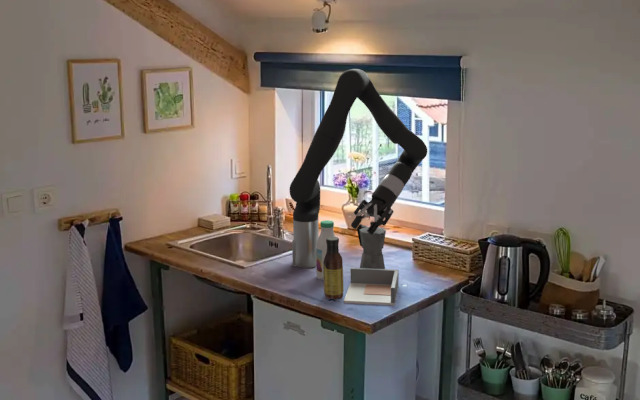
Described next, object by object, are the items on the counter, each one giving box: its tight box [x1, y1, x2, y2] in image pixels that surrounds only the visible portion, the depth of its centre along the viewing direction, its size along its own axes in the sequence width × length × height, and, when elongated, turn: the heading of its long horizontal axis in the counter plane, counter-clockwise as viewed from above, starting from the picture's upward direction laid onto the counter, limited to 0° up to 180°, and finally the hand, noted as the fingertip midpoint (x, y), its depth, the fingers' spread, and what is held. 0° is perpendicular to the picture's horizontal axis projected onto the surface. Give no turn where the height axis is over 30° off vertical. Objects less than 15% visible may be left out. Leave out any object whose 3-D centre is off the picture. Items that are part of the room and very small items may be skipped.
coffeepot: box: [356, 221, 387, 269], centre depth 261 cm, size 15×9×18 cm, turn 34°
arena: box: [343, 267, 400, 306], centre depth 237 cm, size 16×18×6 cm
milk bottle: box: [315, 219, 336, 281], centre depth 253 cm, size 8×8×20 cm
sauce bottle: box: [323, 236, 345, 300], centre depth 234 cm, size 6×6×20 cm
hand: (361, 230), depth 238 cm, fingers open, 8 cm apart
